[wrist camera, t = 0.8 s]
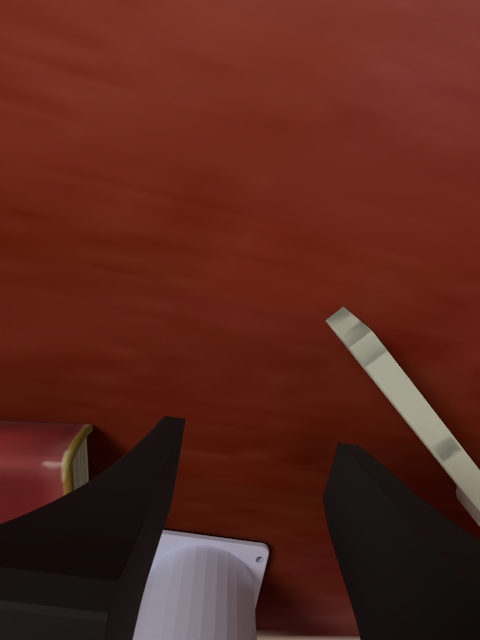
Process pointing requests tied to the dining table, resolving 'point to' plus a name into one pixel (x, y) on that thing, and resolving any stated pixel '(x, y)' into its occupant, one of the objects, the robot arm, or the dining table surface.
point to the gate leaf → (408, 401)
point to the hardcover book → (40, 464)
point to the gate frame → (468, 505)
